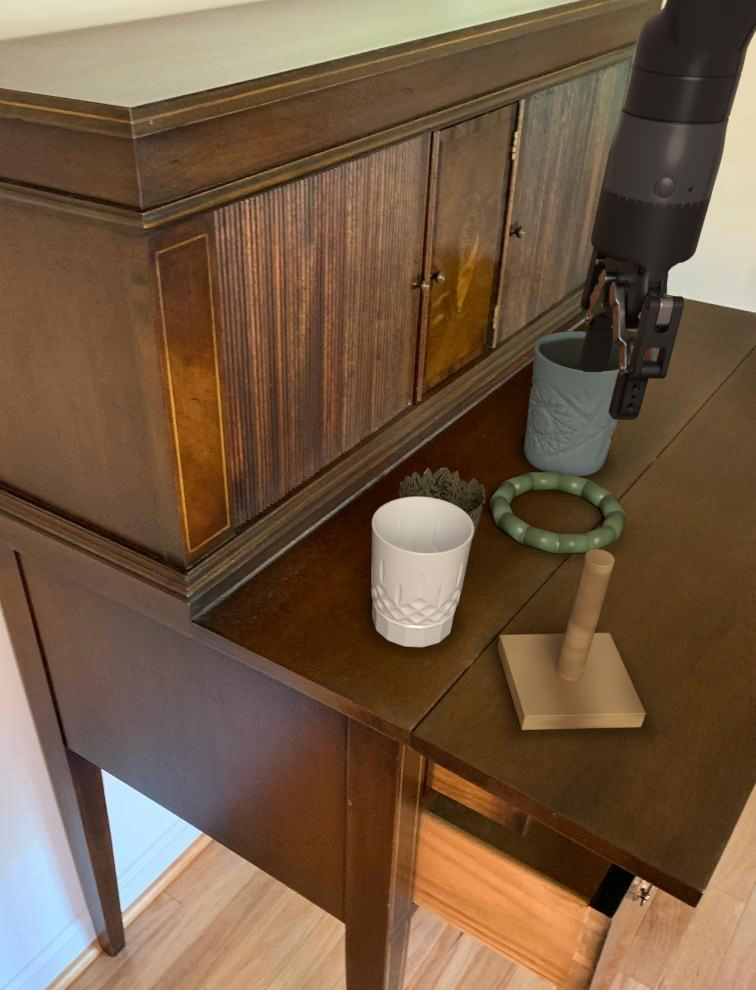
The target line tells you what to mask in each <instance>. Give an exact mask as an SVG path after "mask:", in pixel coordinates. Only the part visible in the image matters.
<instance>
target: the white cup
mask: <svg viewBox="0 0 756 990" xmlns="http://www.w3.org/2000/svg"><path fill="white" fill-rule="evenodd" d="M473 534H474V524H473V522H472V520H471V518H470V517H469V515H468V514H467V513H466V512H465V511H463V510H462V509H461V508H459V507H458V506H456V505H454V504H452V503H449V502H447V501H444V500H440V499H436V498H431V497H405V498H400V499H399V498H396V499H393V500H390V501H387V502H386V503H384V504H382V505H381V506H380V507H378V509H377V510H375V512H374V513H373V516H372V518H371V550H370V551H371V552H370V553H371V555H370V556H371V557H370V559H371V560H370V561H371V562H370V575H371V585H370V586H371V587H370V590H371V598H372V600H371V601H372V604H371V619H372V622H373V625H374V628H375V631H376V632H377V633H379V635H380V636H382V637H383V638H384V639H386V640H387V641H388V642H391V643H394V644H396V645H399V646H402V647H405V648H406V647H407V648H426V647H430V646H433V645H436V644H439V643H441V642H442V641H443V640H444V639H445V638H446V637H448V636H449V635H450V634H451V631H452V627H453V623H454V620H455V614H456V613H455V612H456V609H457V607H458V605H459V603H460V597H461V594H462V591H463V586H464V580H465V577H466V571H467V567H468V562H469V557H470V552H471V547H472V543H473V540H472V538H473ZM473 539H474V538H473Z"/></svg>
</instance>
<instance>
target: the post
mask: <svg viewBox="0 0 756 990" xmlns="http://www.w3.org/2000/svg"><path fill="white" fill-rule="evenodd" d="M615 561H616V559H615V557H614V555H613V554H612V553H611V552H609V551H606V550H604V549H593V550H590V551H588V552H587V553H584V558H583V562H582V566H581V570H580V573H579V578H578V582H577V586H576V589H575V594H574V596H573V602H572V605H571V609H570V613H569V617H568V621H567V626H566V630H565V632H564V633H527V634H526V633H525V634H524V633H523V634H500V635H499V637H498V643H497V652H498V655H499V658H500V662H501V666H502V669H503V671H504V675H505V678H506V682H507V686H508V689H509V692H510V696H511V699H512V702H513V706H514V709H515V711H516V715H517V716H516V717H517V719H518V723H519V725H520V729H521V730H522V731H530V730H531V731H532V730H533V731H534V730H567V729H568V730H572V729H575V730H576V729H577V730H578V729H614V728H615V729H617V728H618V729H619V728H620V729H621V728H622V729H623V728H642V726H643V723H644V720H645V717H646V715H647V714H646V710H645V708H644V707H643V703H642V701H641V699H640V697H639V694H638V693H637V690H636V688H635V686H634V684H633V681H632V679H631V677H630V675H629V672H628V670H627V668H626V666H625V664H624V661H623V659H622V657H621V655H620V652H619V650H618V648H617V645H616V643H615V642H614V639H613V637H612V635H611V633H610V632H596V630H597V626H598V622H599V618H600V616H601V615H600V614H601V611H602V608H603V605H604V601H605V597H606V593H607V590H608V587H609V583H610V579H611V576H612V572H613V568H614V565H615Z"/></svg>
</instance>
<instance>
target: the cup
mask: <svg viewBox="0 0 756 990" xmlns="http://www.w3.org/2000/svg"><path fill="white" fill-rule="evenodd" d="M398 496H399V497H398V499H400V498H405V497H431V498H436V499H440V500H444V501H447V502H449V503H452V504H454V505H456V506H458V507H459V508H461V509H462V510H463V511H465V512H466V513H467V514H468V515H469V517H470V518H471V520H472V522H473V524H474V534H473V538H472V541H473V540H474V537H475V535H476V532H477V529H478V525H479V522H480V519H481V516H482V512H483V509H484V505H485V503H486V498H487V496H486V488H485V485H484V484H479V483H478V480H477V479H476V478H475V477H473V478H471V479H470V481H469V483H467V481H465V480H461V478H460V472H459V471H458V470H455V471H454V472H452V473H451V471H449V469H448V468H447V467H446V466H443V467H440V468H439V469H438V470H436V472H435V473H432V470H431V469H430V468H429V467H427V468H426V469H425V470H424V472H423V475H422V477H421V475H420V474H419V472H417V471H414V472H412V474H411V476H409V475H408V474H407V475H406V476H405V478H404V480H403V481H400V482H399V490H398Z"/></svg>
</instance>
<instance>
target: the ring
mask: <svg viewBox="0 0 756 990" xmlns="http://www.w3.org/2000/svg"><path fill="white" fill-rule="evenodd" d="M530 491H560V492H563V493H565V494H570V495H574V496H578V497H582V499H585V500H586V501H588V502H589V503H591V504H592V505H594V506H596V507H597V508H598V509H600V511H601V513H602V515H603V517H604V521H603V523H602V525H601V526H600V527H597V528H595V529H593V530H591V531H588V532H585V533H555V532H553V531H548V530H545V529H542V528H538V527H534V526H531V525H529V524H528V523H527V522H525V521H523V520H522V519H521V518H519V517H518V516H517V515H515V514H514V513H513V511H512V507H511V505H510V504H511V503H512V501H513V499H514V498H515V497H517V496H520V495H522V494H524V493H528V492H530ZM489 508H490V511H491V514H492V517H493V520H494V522H495V525H496V526H497V527H498V528H499V529H500V530H501V531H503V532H504V533H506V534H507V535H508V536H510V537H511V538H513V539H514V540H515V541H517V543H519V544H521V545H524V546H527V547H530V548H534V549H538V550H541V551H544V552H548V553H552V554H586V553H587V552H588V551H590V550H593V549H599V550H601V549H602V548H604V547H606V546H608V545H611V544H613V543H616V542H617V541H618V539H619V537H620V535H621V533H622V531H623V529H624V527H625V524H626V522H627V514H626V512H625V511H624V509H623V507H622V505H621V504H620V502H619V500H618V498H617V496H616V495H615V494H614V493H612V492H610V491H609V490H607V489H606V488H604V487H602V486H600V485H599V484H598V483H596V482H594V481H593V480H592V479H588V478H584V477H582V476H578V477H577V476H573V475H569V474H565V473H561V472H545V471H537V472H535V471H534V472H531V471H529V472H525V473H522V474H520V475H517V476H515V477H512V478H509V479H507V480H503V481H502V482H501V483H500V485H498V487H497V489H496V490H495V492H494V493H493V495H492V496H491V498H490V500H489Z"/></svg>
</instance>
